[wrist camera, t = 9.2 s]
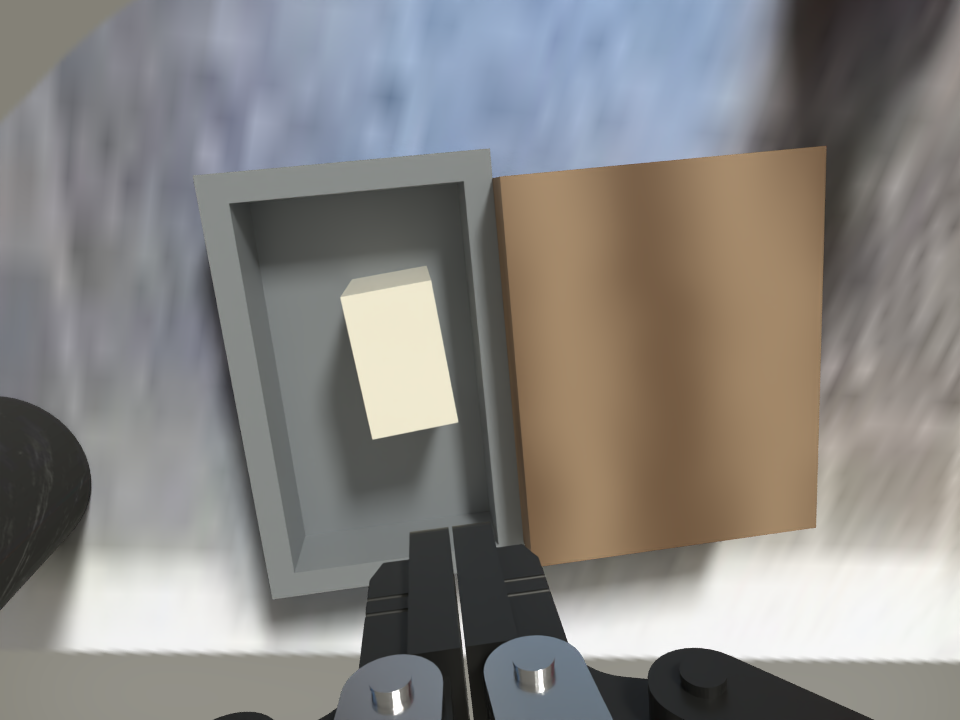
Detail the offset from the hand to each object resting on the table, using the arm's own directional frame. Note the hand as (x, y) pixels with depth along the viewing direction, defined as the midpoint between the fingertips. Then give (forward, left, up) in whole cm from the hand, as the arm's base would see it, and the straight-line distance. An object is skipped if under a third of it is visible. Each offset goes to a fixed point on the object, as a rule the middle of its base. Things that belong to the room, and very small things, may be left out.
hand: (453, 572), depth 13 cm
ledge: (-8, 0, -17) cm, 19 cm away
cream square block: (-1, -2, -14) cm, 14 cm away
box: (+2, 0, -17) cm, 17 cm away
